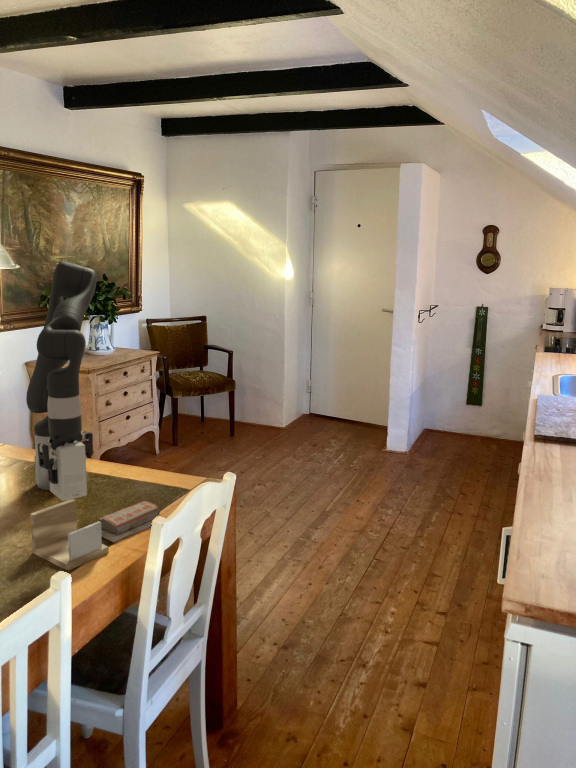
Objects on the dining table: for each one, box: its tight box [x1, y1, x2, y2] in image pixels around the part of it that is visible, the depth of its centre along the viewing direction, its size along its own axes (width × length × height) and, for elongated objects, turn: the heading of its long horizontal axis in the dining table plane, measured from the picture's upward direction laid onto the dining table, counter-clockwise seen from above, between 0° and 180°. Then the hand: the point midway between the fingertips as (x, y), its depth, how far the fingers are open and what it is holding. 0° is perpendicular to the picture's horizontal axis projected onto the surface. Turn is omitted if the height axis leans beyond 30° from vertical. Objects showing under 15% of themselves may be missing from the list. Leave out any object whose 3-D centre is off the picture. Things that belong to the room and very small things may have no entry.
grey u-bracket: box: [30, 499, 110, 572], centre depth 161 cm, size 14×12×10 cm
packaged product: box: [98, 500, 161, 543], centre depth 177 cm, size 18×5×10 cm
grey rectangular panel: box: [68, 520, 103, 562], centre depth 157 cm, size 1×9×7 cm, turn 144°
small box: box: [48, 441, 88, 502], centre depth 157 cm, size 8×6×13 cm
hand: (67, 478), depth 158 cm, fingers closed on small box, 7 cm apart
